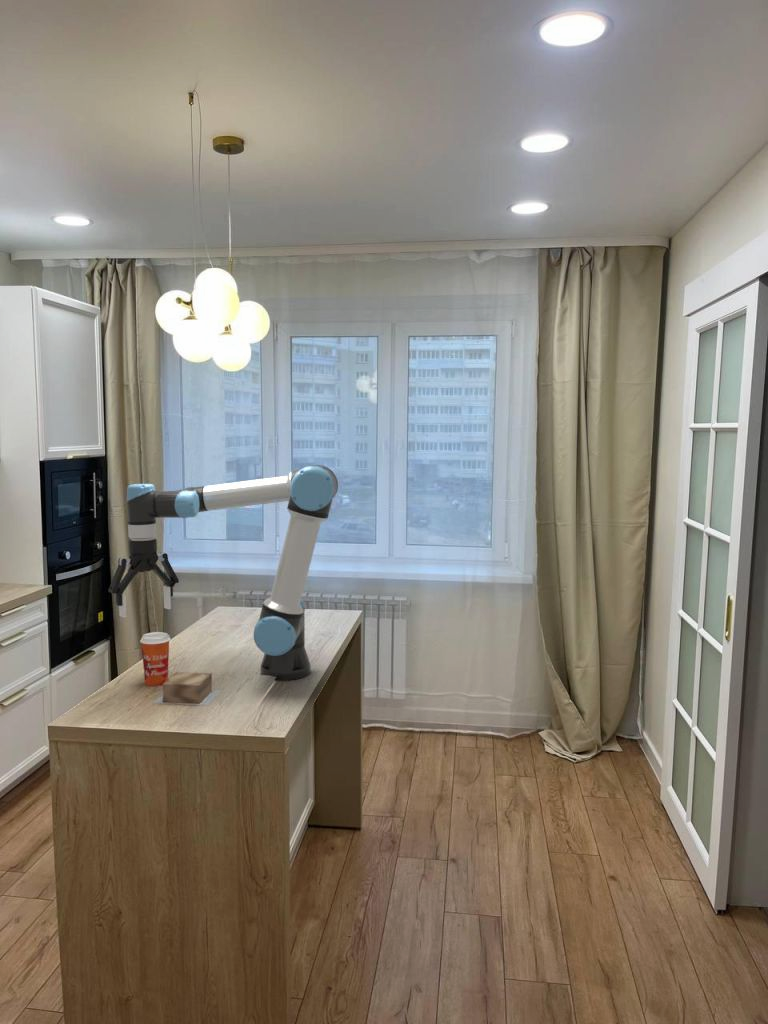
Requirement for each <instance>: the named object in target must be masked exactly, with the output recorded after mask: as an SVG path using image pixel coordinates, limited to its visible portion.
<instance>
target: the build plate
mask: <svg viewBox="0 0 768 1024" xmlns="http://www.w3.org/2000/svg"><path fill="white" fill-rule="evenodd" d="M221 691H222V690H215V689H212V691H211V692H210V694H209V695H208V696H207V697H206V698H205V699H204V700H203V701H202V702H201V703H200V704H189V703H163V693H162V694H161V695H159V697H158V698H157V699H155V700H154V702H153V703H152V704H165V705H166V704H168V705H192V706H193V705H195V706H196V705H197V706H209V705H210V704H211V703H212V702H213V701H214V699H216V697H217V696H218V695H219V694H220V693H221Z"/></svg>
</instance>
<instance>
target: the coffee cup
mask: <svg viewBox="0 0 768 1024" xmlns="http://www.w3.org/2000/svg"><path fill="white" fill-rule="evenodd" d="M171 640H172V638H171V637H170V635H169V634H168V633H167V632H162V631H153V632H148V633H144V634H142V636H141V639H140V641H139V642H140V643H141V653H142V663H143V675H144V676H143V677H144V684H145V686H149V687H159V686H163V683H165V682H166V681H167V680H168V679H169V678H168V677H169V657H170V656H169V655H170V654H169V652H170V641H171Z"/></svg>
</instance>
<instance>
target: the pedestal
mask: <svg viewBox="0 0 768 1024" xmlns="http://www.w3.org/2000/svg"><path fill="white" fill-rule="evenodd" d="M212 675H213V674H212V672H211V673H210V672H209V673H208V672H206V673H205V672H181V671H180V672H179V671H178V672H175V673H174V674H172V676H170V677H169V678H168V680H167V681H166V682H165V683H163V685H162V694H163V703H189V704H200V703H201V702H202V701H203V700H204V699H205V698H206V697H207V696H208V695H209V694H210V692H211V691H212V690H213V685H212V684H213V683H212V681H213V680H212V679H213V676H212Z"/></svg>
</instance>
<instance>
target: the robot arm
mask: <svg viewBox="0 0 768 1024" xmlns="http://www.w3.org/2000/svg"><path fill="white" fill-rule="evenodd" d="M338 489H339V483H338V478H337V476H336V474H335V473H334V471H333V470H332V469H330V468H329V467H327V466H325V465H322V464H321V465H319V464H317V465H316V464H315V465H309V466H305V467H303V468H301V469H299V470H294V471H292V470H291V471H290V472H289V473H288V474H287V475H281V476H272V477H266V478H257V479H256V478H255V479H250V480H240V481H234V482H233V481H232V482H225V483H219V484H218V483H217V484H211V485H203V486H190V487H185V488H183V489H178V490H168V491H167V490H165V491H164V490H162V491H160V490H156V487H155V485H154V484H152V483H135V484H130V485H128V486H127V488H126V510H127V528H128V529H127V530H128V531H127V532H128V538H129V541H128V552H129V557H128V558H122V557H119V558H118V562H117V563H118V564H117V568H116V570H115V572H114V575H113V578H112V580H111V582H110V585H109V587H108V590H107V591H108V593H111V594H115V604H116V606H118V611H119V612H118V614H119V617H121V618H124V619H125V618H127V600H126V599H127V597H126V596H127V595H126V594H125V593H124V592H125V591H126V589H127V588H128V586H129V584H130V583H131V582H132V580H133V578H134V577H135V576H136V575H137V574H138V573H144V572H152V571H153V572H154V573H155V575H156V576H157V577H158V578H159V579H160V580H161V581H162V582H163V584H165V585H163V587H162V590H163V593H162V594H163V608H164V609H165V610H166V609H167V610H172V598H173V596H174V589H173V588H174V587H175V585H176V584H179V582H180V580H179V578H178V576H177V574H176V573H175V571H174V569H173V566H172V565H171V563H170V561H169V557H168V556H169V555H168V553H165V552H160V553H157V551H158V542H157V539H156V538H157V536H158V535H157V521H156V519H158V518H159V519H160V518H168V519H169V518H170V519H171V518H178V519H181V518H182V519H186V518H195V517H196V516H198V513H202V512H203V513H204V512H208V511H209V512H210V511H211V512H212V511H216V510H217V511H218V510H225V509H226V510H227V509H232V508H233V509H234V508H242V507H249V506H261V505H269V504H274V503H276V504H277V503H285V502H288V504H287V508H286V509H287V512H288V513H289V515H290V518H289V521H288V526H287V529H286V534H285V536H284V537H285V539H284V542H283V546H282V549H281V554H280V558H279V562H278V565H277V569H276V572H275V573H276V574H275V577H274V580H273V581H274V582H273V586H272V590H271V593H270V596H269V597H268V598H266V599H265V600H263V603H262V607H261V611H260V614H259V619H258V621H257V622H256V624H255V626H254V629H253V640H254V643H255V646H256V647H257V648H258V649H259V650H260V651H261V652H262V653H263V654H264V655H263V658H262V660H261V664H260V666H259V667H260V676H269V677H275V679H274V680H275V681H276V680H277V681H288V680H289V681H291V680H297V679H300V678H301V679H302V678H304V677H306V676H308V675H309V674H311V672H312V671H311V662H310V659H309V657H308V653H307V650H306V647H305V646H306V645H305V643H306V639H305V635H306V634H305V632H306V631H305V629H306V628H305V622H306V621H305V610H306V607H305V601H304V600H303V599H302V598H303V595H304V590H305V587H306V586H305V585H306V582H307V578H308V574H309V571H310V568H311V567H310V566H311V563H312V558H313V556H314V555H313V554H314V550H315V546H316V544H317V539H318V535H319V532H320V528H321V524H322V523H323V522H325V521H327V520H328V518H329V514H330V510H331V507H332V504H333V499H334V497H336V495H337V492H338ZM158 560H159V562H160V564H161V565H162V567H163V569H164V570H165V573H164V572H163V571H162V569H161V567H160V566H159V565H158V564H157V562H158ZM129 564H130V567H129V568H128V569H127V566H129ZM126 569H127V573H126V574H125V575H124V573H125V571H126ZM166 574H167V575H166Z"/></svg>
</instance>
